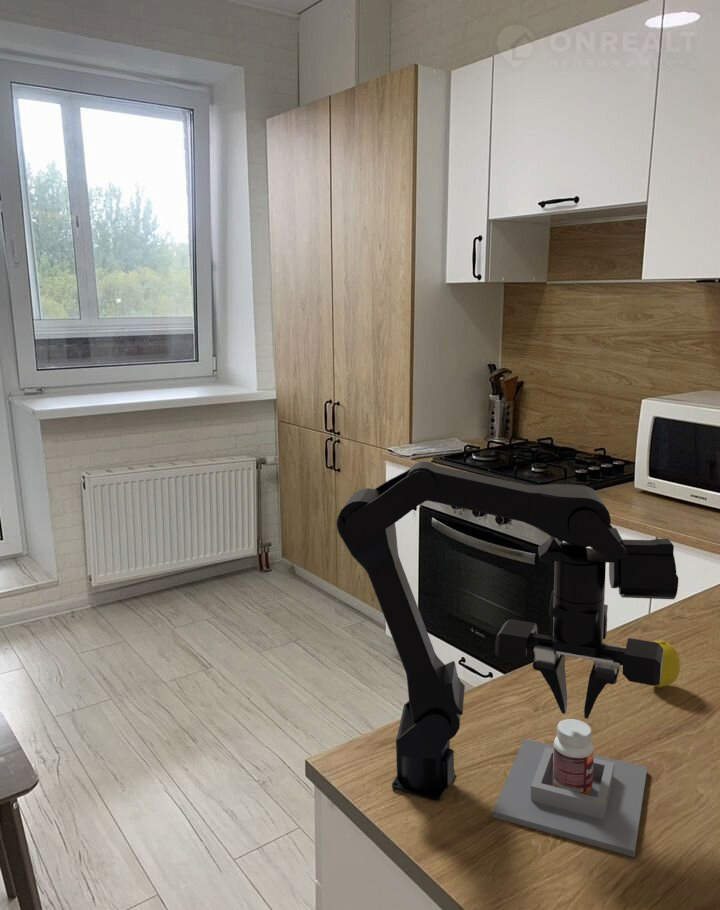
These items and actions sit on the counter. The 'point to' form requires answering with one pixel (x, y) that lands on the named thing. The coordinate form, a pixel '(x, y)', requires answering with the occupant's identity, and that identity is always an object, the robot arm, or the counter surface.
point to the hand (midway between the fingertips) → (575, 714)
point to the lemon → (669, 664)
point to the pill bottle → (573, 757)
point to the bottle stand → (575, 800)
